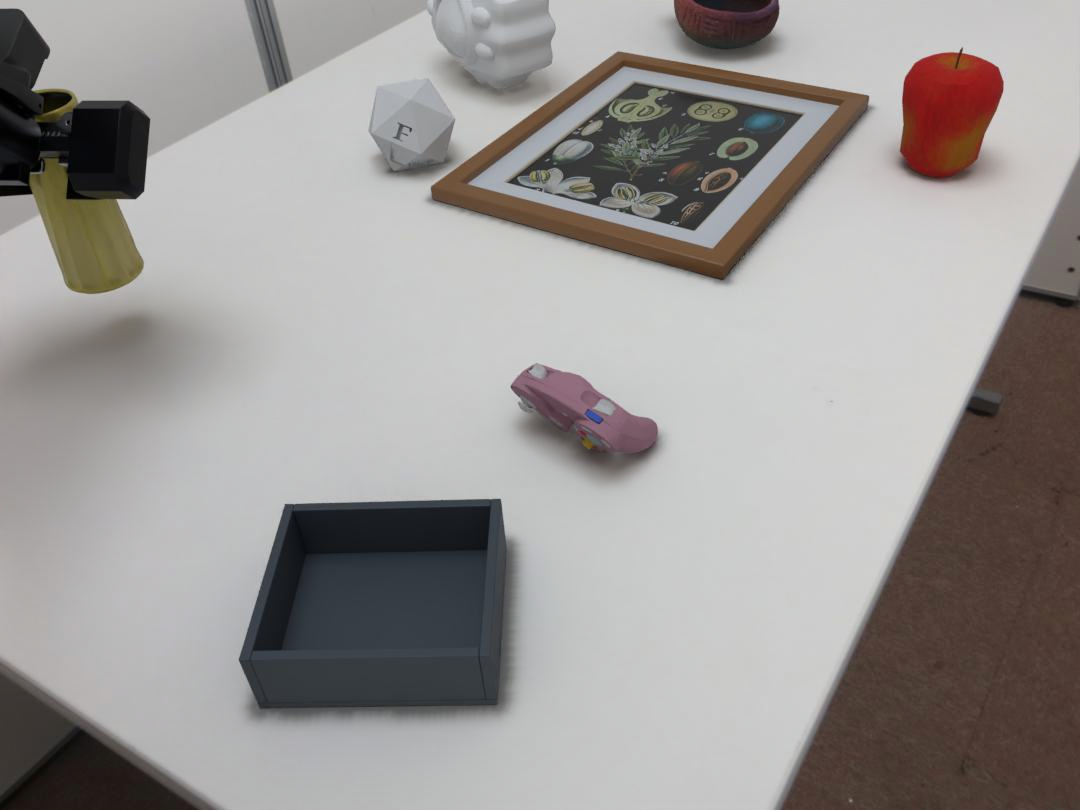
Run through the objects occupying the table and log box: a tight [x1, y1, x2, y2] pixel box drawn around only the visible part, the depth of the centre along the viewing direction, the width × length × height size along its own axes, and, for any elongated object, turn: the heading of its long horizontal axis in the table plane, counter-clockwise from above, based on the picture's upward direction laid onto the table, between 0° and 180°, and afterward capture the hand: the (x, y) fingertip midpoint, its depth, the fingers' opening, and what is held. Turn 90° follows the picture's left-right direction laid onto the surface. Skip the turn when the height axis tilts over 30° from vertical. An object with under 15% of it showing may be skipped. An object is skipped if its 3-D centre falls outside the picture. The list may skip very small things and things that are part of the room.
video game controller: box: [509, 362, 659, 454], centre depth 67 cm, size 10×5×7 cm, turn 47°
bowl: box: [673, 0, 781, 51], centre depth 121 cm, size 16×13×8 cm
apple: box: [899, 46, 1005, 179], centre depth 92 cm, size 9×8×12 cm
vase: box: [29, 88, 145, 295], centre depth 74 cm, size 6×6×14 cm
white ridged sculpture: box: [426, 0, 557, 90], centre depth 113 cm, size 11×18×16 cm, turn 33°
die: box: [367, 77, 456, 173], centre depth 100 cm, size 8×9×10 cm
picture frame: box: [430, 50, 870, 280], centre depth 101 cm, size 31×2×38 cm
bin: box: [238, 498, 508, 709], centre depth 56 cm, size 13×11×4 cm
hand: (83, 186), depth 75 cm, fingers closed on vase, 5 cm apart
